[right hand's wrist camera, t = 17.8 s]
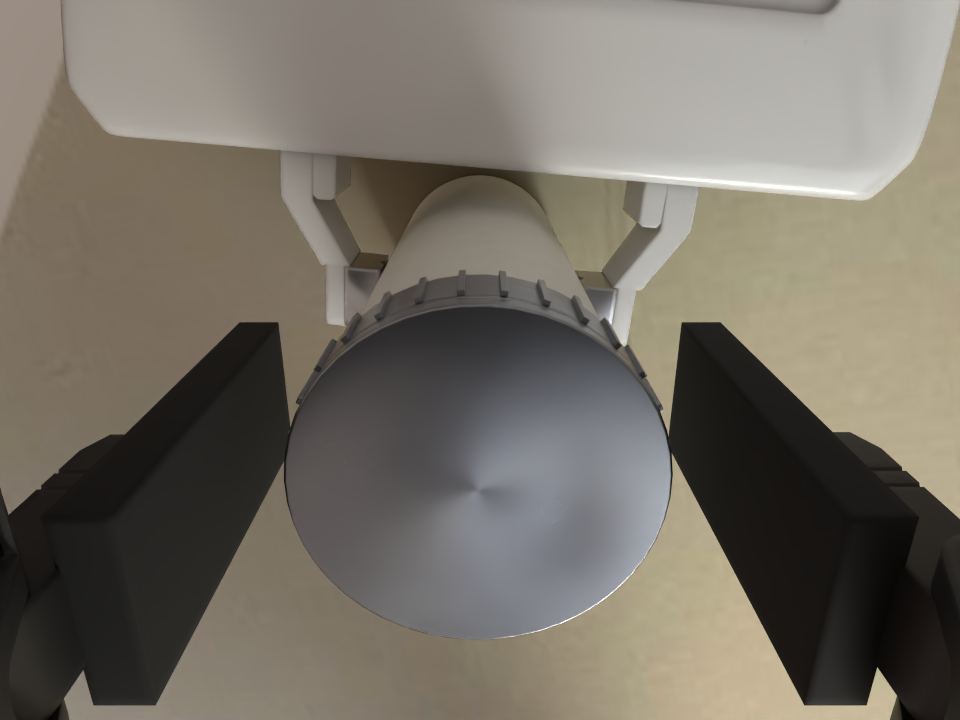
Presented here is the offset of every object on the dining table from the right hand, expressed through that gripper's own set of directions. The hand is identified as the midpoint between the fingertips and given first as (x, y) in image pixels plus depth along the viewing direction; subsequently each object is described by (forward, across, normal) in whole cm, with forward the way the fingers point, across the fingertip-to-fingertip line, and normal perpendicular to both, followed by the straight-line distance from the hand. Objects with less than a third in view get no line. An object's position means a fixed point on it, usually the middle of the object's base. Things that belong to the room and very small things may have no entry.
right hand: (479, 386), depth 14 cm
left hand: (+6, 0, -1) cm, 6 cm away
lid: (-3, 0, 0) cm, 3 cm away
